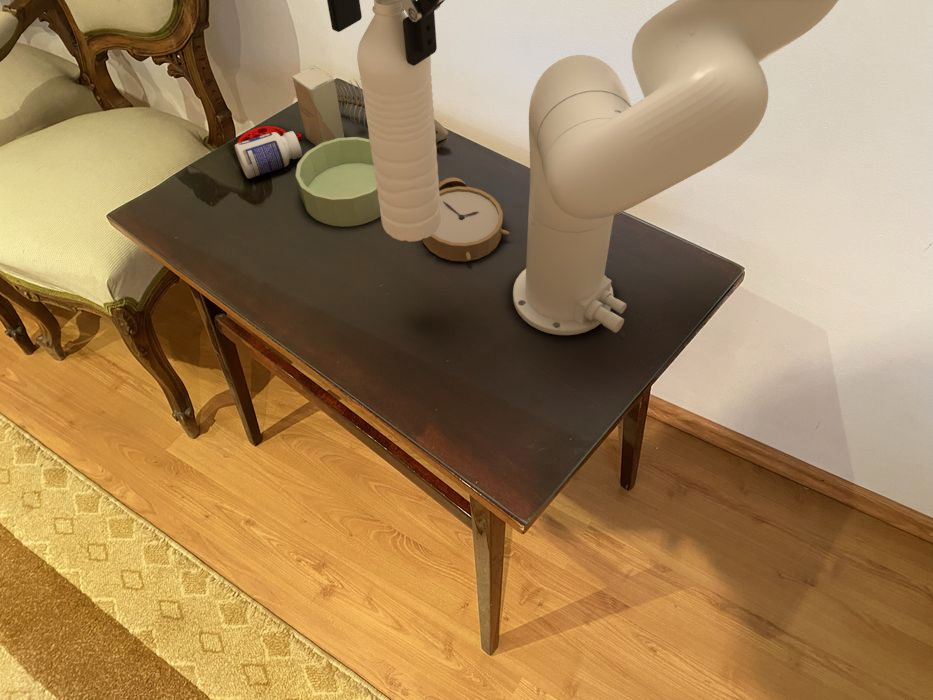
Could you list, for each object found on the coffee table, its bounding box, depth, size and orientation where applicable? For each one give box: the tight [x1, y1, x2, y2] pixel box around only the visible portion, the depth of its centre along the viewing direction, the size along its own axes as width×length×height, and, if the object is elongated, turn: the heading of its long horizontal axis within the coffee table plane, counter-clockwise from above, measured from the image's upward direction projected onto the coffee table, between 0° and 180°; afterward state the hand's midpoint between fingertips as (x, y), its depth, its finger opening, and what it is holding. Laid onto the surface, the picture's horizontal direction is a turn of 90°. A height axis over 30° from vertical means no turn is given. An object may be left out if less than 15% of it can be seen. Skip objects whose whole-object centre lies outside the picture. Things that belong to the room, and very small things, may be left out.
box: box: [291, 65, 346, 147], centre depth 112 cm, size 5×4×11 cm
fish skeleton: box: [335, 78, 449, 149], centre depth 114 cm, size 6×28×10 cm, turn 59°
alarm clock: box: [421, 177, 510, 263], centre depth 101 cm, size 11×5×15 cm
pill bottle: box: [234, 130, 303, 179], centre depth 110 cm, size 5×5×9 cm
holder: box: [295, 136, 381, 228], centre depth 106 cm, size 14×14×5 cm
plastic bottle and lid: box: [356, 0, 441, 243], centre depth 71 cm, size 9×6×25 cm
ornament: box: [237, 125, 303, 143], centre depth 116 cm, size 8×1×10 cm
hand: (383, 40), depth 65 cm, fingers closed on plastic bottle and lid, 8 cm apart
